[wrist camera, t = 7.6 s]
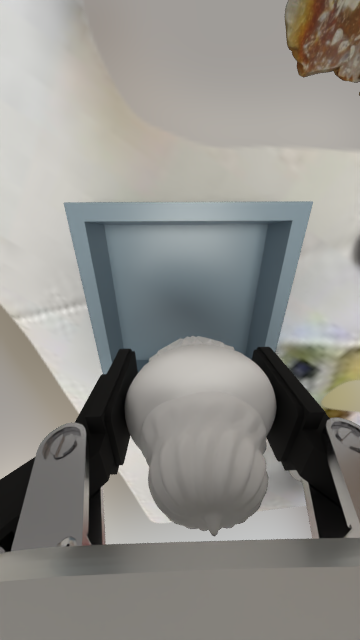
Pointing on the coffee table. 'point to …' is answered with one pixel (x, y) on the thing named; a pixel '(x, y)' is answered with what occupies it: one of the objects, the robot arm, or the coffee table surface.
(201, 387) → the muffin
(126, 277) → the bin
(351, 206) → the coffee table surface
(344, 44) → the decorative stone
